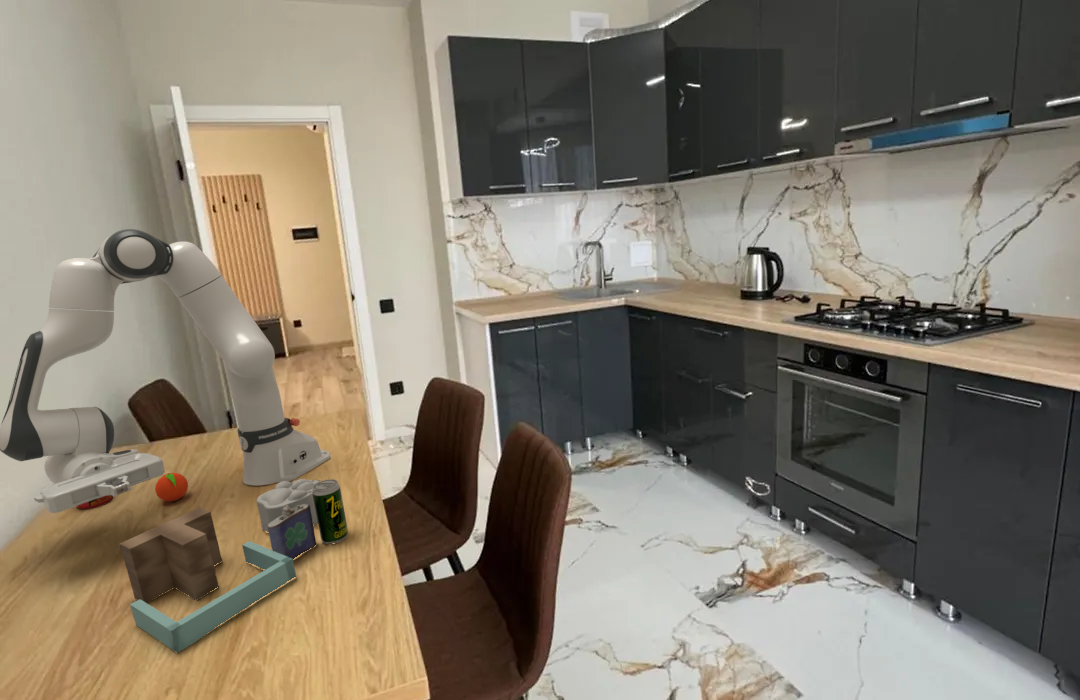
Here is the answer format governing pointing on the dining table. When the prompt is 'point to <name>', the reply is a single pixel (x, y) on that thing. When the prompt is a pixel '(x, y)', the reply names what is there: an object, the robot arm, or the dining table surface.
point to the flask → (292, 531)
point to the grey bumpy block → (286, 500)
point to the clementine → (171, 487)
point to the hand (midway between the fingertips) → (122, 489)
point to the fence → (217, 601)
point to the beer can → (330, 511)
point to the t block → (174, 557)
